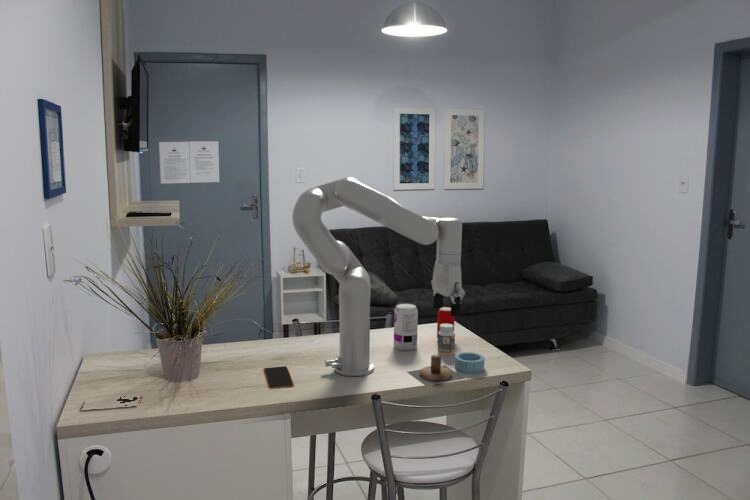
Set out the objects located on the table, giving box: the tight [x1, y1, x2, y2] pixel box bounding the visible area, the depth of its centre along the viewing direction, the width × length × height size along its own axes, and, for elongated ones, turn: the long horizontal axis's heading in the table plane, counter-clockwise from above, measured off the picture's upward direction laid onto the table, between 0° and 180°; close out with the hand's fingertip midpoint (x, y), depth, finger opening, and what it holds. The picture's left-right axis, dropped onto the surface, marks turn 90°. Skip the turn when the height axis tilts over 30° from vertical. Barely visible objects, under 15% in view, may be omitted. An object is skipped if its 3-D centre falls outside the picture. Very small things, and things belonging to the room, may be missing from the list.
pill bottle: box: [437, 324, 456, 356], centre depth 214 cm, size 6×6×10 cm
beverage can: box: [436, 306, 456, 339], centre depth 228 cm, size 6×6×12 cm
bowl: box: [454, 351, 485, 374], centre depth 200 cm, size 9×9×4 cm
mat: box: [406, 365, 466, 387], centre depth 194 cm, size 14×12×1 cm
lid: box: [419, 354, 452, 381], centre depth 193 cm, size 10×10×6 cm
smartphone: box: [263, 365, 295, 389], centre depth 191 cm, size 8×17×1 cm, turn 16°
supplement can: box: [393, 303, 419, 351], centre depth 219 cm, size 8×8×15 cm
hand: (446, 311), depth 196 cm, fingers open, 9 cm apart
